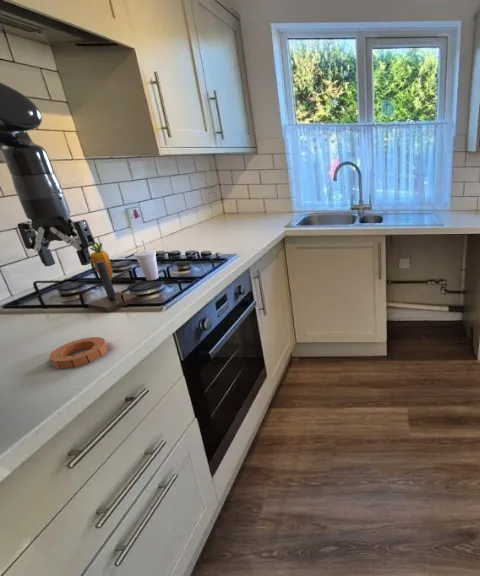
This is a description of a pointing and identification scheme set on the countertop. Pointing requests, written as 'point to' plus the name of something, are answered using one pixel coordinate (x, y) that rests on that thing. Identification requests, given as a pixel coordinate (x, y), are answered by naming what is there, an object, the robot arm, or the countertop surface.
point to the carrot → (101, 258)
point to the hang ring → (62, 359)
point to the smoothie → (147, 263)
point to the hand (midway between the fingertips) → (68, 264)
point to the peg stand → (110, 293)
